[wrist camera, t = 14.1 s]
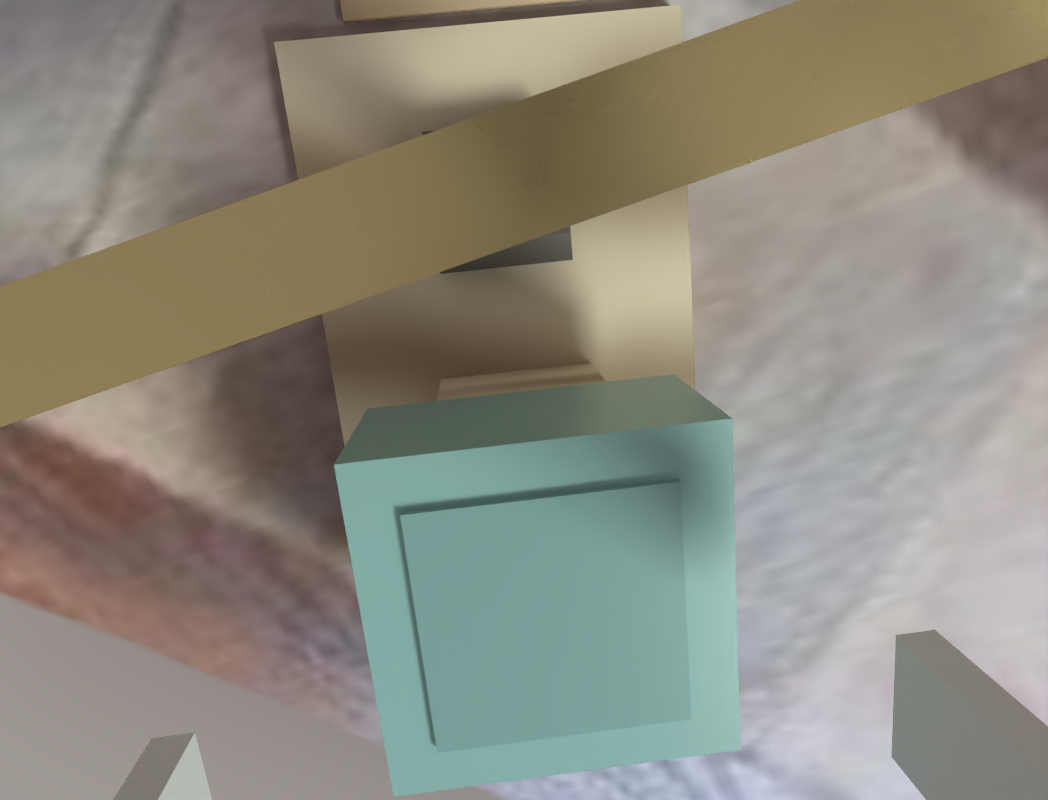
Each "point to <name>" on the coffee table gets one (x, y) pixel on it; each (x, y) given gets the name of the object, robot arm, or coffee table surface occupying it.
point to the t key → (492, 185)
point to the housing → (511, 274)
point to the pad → (424, 7)
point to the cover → (545, 580)
